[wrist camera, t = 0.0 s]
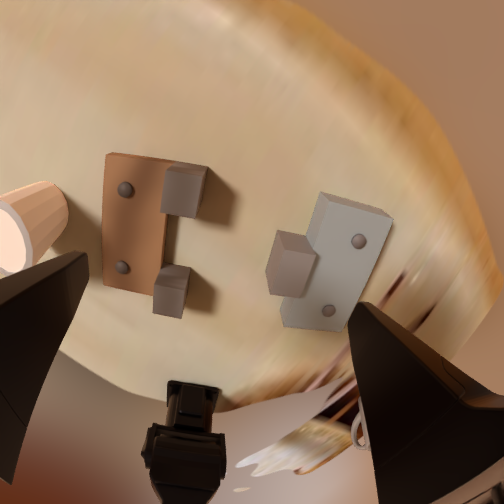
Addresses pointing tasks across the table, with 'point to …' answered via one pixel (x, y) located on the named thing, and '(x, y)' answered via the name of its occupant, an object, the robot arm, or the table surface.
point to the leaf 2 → (326, 263)
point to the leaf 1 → (147, 225)
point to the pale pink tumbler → (30, 224)
